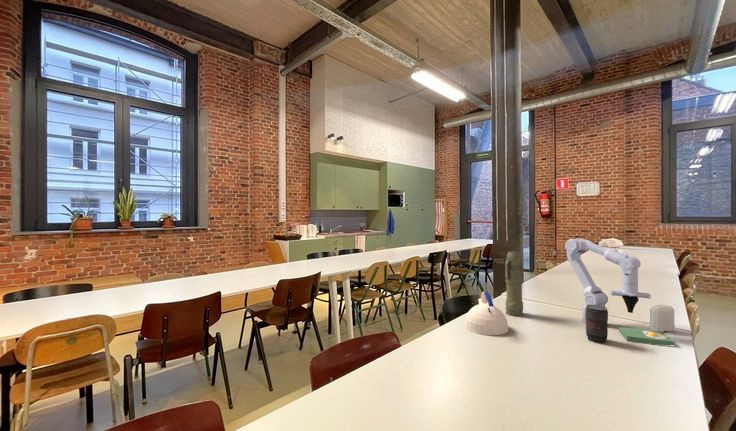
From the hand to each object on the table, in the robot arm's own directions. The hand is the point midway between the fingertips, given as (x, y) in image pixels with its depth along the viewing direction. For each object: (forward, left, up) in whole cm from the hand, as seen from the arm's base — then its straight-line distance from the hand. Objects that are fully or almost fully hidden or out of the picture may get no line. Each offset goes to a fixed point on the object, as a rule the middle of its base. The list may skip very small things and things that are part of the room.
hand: (630, 312), depth 151 cm
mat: (+4, -6, -10) cm, 12 cm away
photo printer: (+15, +9, -10) cm, 20 cm away
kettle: (-62, -17, -10) cm, 65 cm away
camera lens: (-16, -16, -10) cm, 25 cm away
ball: (+6, -6, -8) cm, 12 cm away
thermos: (-49, +11, -10) cm, 51 cm away
